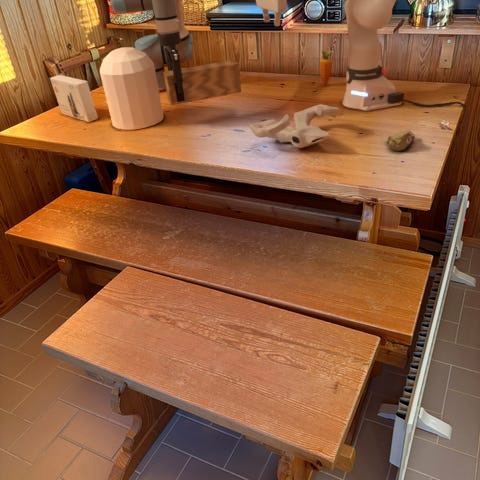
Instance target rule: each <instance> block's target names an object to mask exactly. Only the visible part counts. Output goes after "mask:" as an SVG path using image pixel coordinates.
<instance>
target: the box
mask: <svg viewBox="0 0 480 480" xmlns="http://www.w3.org/2000/svg"><path fill="white" fill-rule="evenodd" d="M240 70H241V69H240V63H239V62H238V61H236V60H235V59H231V60H225V61H219V62H213V63H207V64H202V65H201V64H200V65H196V66H191V67H190V66H189V67H184V68H181V71H182V77H183V83H182V85H183V91H184V98H185V101H182V102H177V96H176V90H175V85H173V83H175V80H174V75H173V71H168V70H167V71H166V70H165V72H163V73H164V79H165V84H166V90H165V91H166V96H167V101H168V102H169V104H170V105H171V106H175V105H181V104H186V103H192V102H196V101H202V100H207V99H213V98H219V97H223V96H229V95H233V94H238V93H242V83H241V71H240Z"/></svg>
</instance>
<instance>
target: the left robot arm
mask: <svg viewBox="0 0 480 480" xmlns="http://www.w3.org/2000/svg"><path fill="white" fill-rule="evenodd" d="M110 4H111V8H112V10H113V12H114V14H117V15H118V14H130V13H137V12H138V13H139V12H148V11H149V12H150V11H153V13H154V22H155V28H156V34H149V35H145V36H142V37H140V38H138V39H137V40H135V42H134V48H135V49H137V50H140V51H142V52H144V53H146V54H147V56H148V57H149V58H150V59H151V60H152V61H153V63H154V67H155V73H156V78H157V84H158V89H159V93H160V92H165V91H167V90H166V84H165V79H164V73H163V72H166V69H165V65H166V67H167V71H173V75H174V80H175V83H173V85H175V90H176V96H177V102H182V101H185V98H184V91H183V85H182V83H183V77H182V71H181V69H182V66H181V63H182V64H184V63H189V62H191V61H193V59H194V58H193V57H194V44H193V43H194V42H193V41H194V40H193V39H194V37H193V35H192V34H190V33H189V30H188V29H187V28H186V27H185V21H184V20H185V19H184V15H183V7H182V0H110ZM157 33H158V34H157Z"/></svg>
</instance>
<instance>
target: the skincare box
mask: <svg viewBox="0 0 480 480" xmlns="http://www.w3.org/2000/svg"><path fill="white" fill-rule="evenodd" d="M49 80H50V83H51V86H52V89H53V91H54V95H55V98H56V100H57V103H58V106H59V109H60V112H61V114H62V115H65V116H68V117H71V118H73V119H78V120H81V121H84V122H87V123H91V122H94V121H96V120H98V119H99V116H98V112H97V110H96V107H95V103H94V102H95V101H94V99H93V96H92V93H91V89H90V86H89V82H88V80H84V79H79V78H76V77H71V76H67V75H63V74H57V75H55V76H52V77H49Z"/></svg>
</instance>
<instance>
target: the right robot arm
mask: <svg viewBox="0 0 480 480" xmlns="http://www.w3.org/2000/svg"><path fill="white" fill-rule="evenodd" d="M396 2H397V0H345V3H344V13H345V17H346V27H347V28H346V29H347V37H348V62H347V63H348V65H347V67H346V72H345V73H346V74H345V77H346V78H345V81H346V87H345V91H344V96H343V99H342V102H341V103H342V106H343V107H346V108H349V109H355V110H361V111H364V112H369V111H375V110H380V109H385V108H391V107H397V106H401V105H402V103H403V102H404V103H409V104H412V105H415V106H419V107H426V108H427V107H438V106H439V107H441V106H448V105H454V104H455V105H460V106H462V107H463V108H466V107H467V106H466V105H465V104H464V103H462V102H460V101H449V102H444V103H433V104H424V103H419V102H414V101H412V100H408V99H404V97H405V93H404V92H402V91H397V89H396V86H395V84H394V83H393V82H392V81H391V80H389V79H388V78H387V77H385V76H384V75H386V74H387V73H388V69H387V68H386V67H383V66H381V65H379V63H380V62H379V61H380V49H381V43H380V39H379V34H378V30H381V29H383V28H385V27H386V26H387V25H388V24H389V23H390V22H391V19H392V15H393V8H394V6H395V3H396ZM255 4H256V6H257V8H260V9H261V13H262V16H263V22H264V23H270V22H271V17H270V15H269V12H273V15H274V20H273V27H280V26H281V19H282V15H283V13H286V12H287V10H288V0H255Z"/></svg>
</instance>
